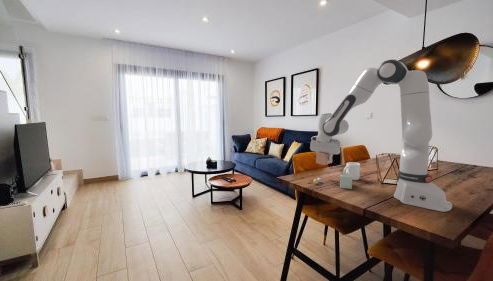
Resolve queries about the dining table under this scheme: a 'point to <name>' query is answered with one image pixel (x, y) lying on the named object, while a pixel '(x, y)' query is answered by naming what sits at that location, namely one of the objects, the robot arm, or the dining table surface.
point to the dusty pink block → (323, 158)
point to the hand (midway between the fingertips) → (324, 159)
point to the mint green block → (345, 180)
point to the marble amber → (315, 181)
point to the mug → (353, 170)
